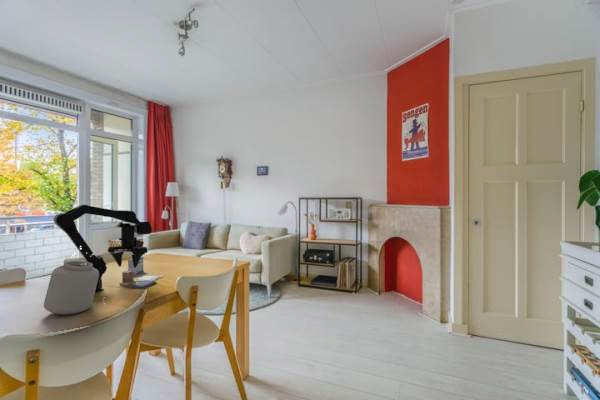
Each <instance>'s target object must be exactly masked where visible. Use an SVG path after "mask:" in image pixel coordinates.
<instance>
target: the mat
mask: <svg viewBox="0 0 600 400" xmlns="http://www.w3.org/2000/svg"><path fill="white" fill-rule="evenodd" d="M164 277H165V276H164V275H159V274H158V275H157V274H143V275H142V276H139V277H136V278H134V280H136V282H137V283H139V282H142V281H145V280H146V281H156V280H158V279H162V278H164Z"/></svg>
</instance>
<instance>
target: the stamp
mask: <svg viewBox="0 0 600 400" xmlns="http://www.w3.org/2000/svg"><path fill="white" fill-rule="evenodd" d="M121 275H122V280H121V281H120V282H119V286H121V287H126V288H128V287H131V286H132V285H134V284H137V281H136V280H134V279H135V278H134V271H128V270H126V271H122V274H121Z"/></svg>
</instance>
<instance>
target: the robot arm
mask: <svg viewBox="0 0 600 400" xmlns="http://www.w3.org/2000/svg"><path fill="white" fill-rule="evenodd" d="M86 214H88V215H94V216H100V217H106V218H112V219H116V220H118V221H121V222H118V224H117V225H116V226H115V227H116V228H120V230H121V231H120V233H121V235H120V237H119V238H118V240H119V241H120V244H119V245H118V244H117V245H112V246H109V247H108V248H107V252H108V253H109V254H110V255H111V257H112V258H113V259H114V261H115V262H116V264H117V266H118V267H122V264H123V262H122V261H123V255H124V253H125V252H129V253H132V254H131V259H132V260H133V265H134V268H136V267H137V265H138V262H139V260H140V258H141V257H143V255H146V253H148V247H147V246H144V243H145V242H144V241H142V240H138V239H137V236H136V235H135V234H137V235H138V236H140V235H150V234H151V233H152V229H153V228H152V226H151V223H150V220H145V221H140V220H139V218H137V214H136V212H135V211H133V210H128V209H127V210H121V209H120V210H119V209H118V210H116V209H115V210H114V209H109V208H103V207H99V206H98V207H96V206H91V205H87V204H80V205H78V206H77V207H75V208H72V209H70V210H67V211H66V212H60V213H57V214H56V215H55V216H54V217H53V223H54V224H55V225H56V226H57V227H58V228H59V229H60V230H62V232H63V233H65V234H66V235H67V237H68V238H69V239H70V241H71V242H72V243H73V244H74V246H75V247H76V249H77V250H78V252H79V253H80V255H82V257H83V258H84V260H85V261H84V262H89V263H92V264H93V268H95V269H97V270H98V271H99V278H98V282H97V286H96V290H95V294H96V293H99V292H102V291H104V290H105V288H103V280H102V277H103V276H104V274H105V273H106V271H107V269H108V267H107V265H108V263H106V262H105V261H104V258H103V256H100V255H97V256H96V255H95V254H94V252H93V250H92V249H91V248H90V246H89V245H88V243H87V242H86V240H85V239H84V238H83V236H82V235H81V234H80V232H79V231H78V228H77V225H76V222H75V221H76V220H78V219H79V218H81V217H82V216H84V215H86ZM123 222H125V223H123ZM80 246H81V247H80ZM80 248H82V249H80ZM86 253H87V254H86ZM92 254H93V255H92ZM90 256H91V257H90Z"/></svg>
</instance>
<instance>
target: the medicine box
mask: <svg viewBox="0 0 600 400" xmlns="http://www.w3.org/2000/svg"><path fill="white" fill-rule="evenodd" d="M127 267H128V268H127V271H134V275H135V276H136V275H138V274H141V273H142V272H143V273H144V256H141V258H140V260H139V262H138V265H137V267H136V268H134V265H133V260H132V258H129V259H128V260H127Z"/></svg>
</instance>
